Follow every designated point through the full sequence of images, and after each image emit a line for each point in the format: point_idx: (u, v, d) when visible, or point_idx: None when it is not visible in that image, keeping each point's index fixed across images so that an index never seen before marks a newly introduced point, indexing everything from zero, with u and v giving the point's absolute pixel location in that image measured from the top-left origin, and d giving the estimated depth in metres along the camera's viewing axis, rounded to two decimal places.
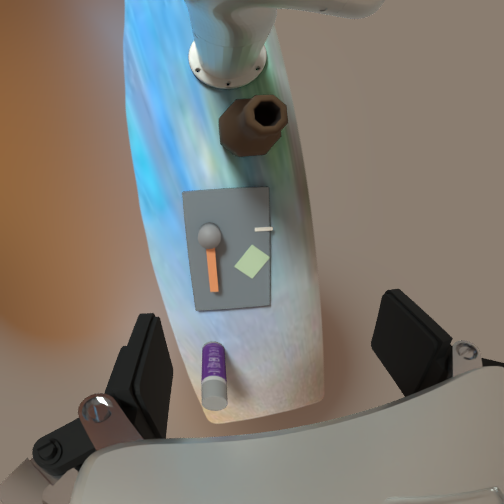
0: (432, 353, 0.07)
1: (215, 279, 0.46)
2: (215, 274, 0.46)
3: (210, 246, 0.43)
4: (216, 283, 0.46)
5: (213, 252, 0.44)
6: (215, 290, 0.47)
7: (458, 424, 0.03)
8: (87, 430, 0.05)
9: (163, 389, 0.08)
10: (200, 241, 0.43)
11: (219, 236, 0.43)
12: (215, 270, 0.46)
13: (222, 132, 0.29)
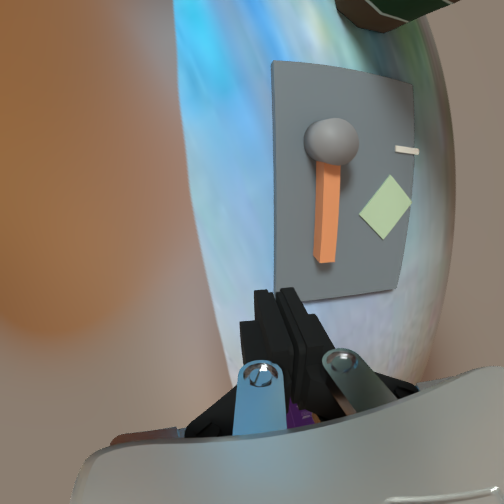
0: (301, 358, 0.08)
1: (333, 236, 0.22)
2: (335, 225, 0.22)
3: (338, 160, 0.19)
4: (333, 244, 0.22)
5: (337, 177, 0.20)
6: (329, 259, 0.23)
7: (457, 424, 0.03)
8: (238, 388, 0.06)
9: None
10: (319, 147, 0.18)
11: (356, 141, 0.18)
12: (336, 216, 0.21)
13: None
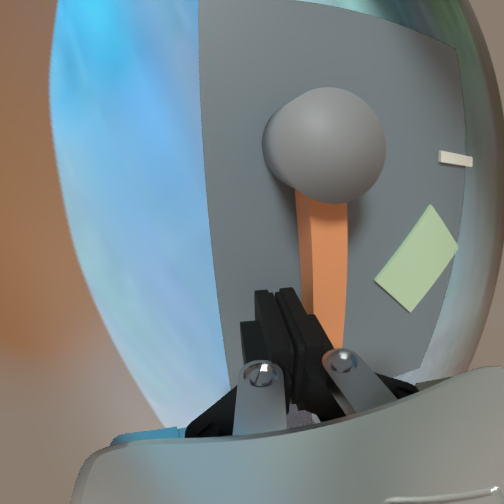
0: (301, 358, 0.08)
1: (336, 333, 0.11)
2: (339, 315, 0.11)
3: (342, 190, 0.08)
4: (337, 345, 0.11)
5: (341, 224, 0.09)
6: None
7: (458, 424, 0.03)
8: (239, 388, 0.06)
9: None
10: (292, 166, 0.07)
11: (380, 139, 0.07)
12: (341, 300, 0.11)
13: None
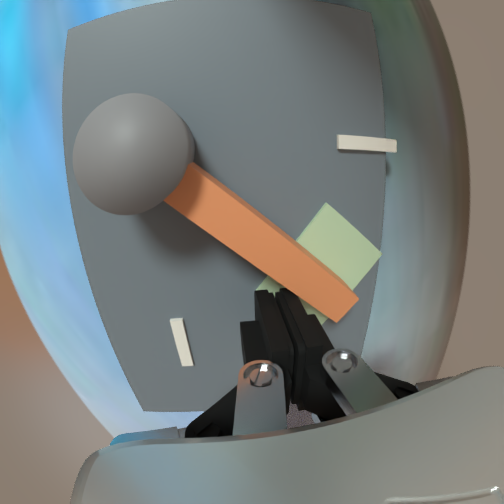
0: (301, 358, 0.08)
1: (318, 275, 0.10)
2: (302, 260, 0.10)
3: (163, 178, 0.07)
4: (332, 283, 0.10)
5: (211, 192, 0.08)
6: (348, 305, 0.11)
7: (458, 424, 0.03)
8: (239, 388, 0.06)
9: None
10: (113, 204, 0.07)
11: (154, 104, 0.06)
12: (288, 247, 0.09)
13: None
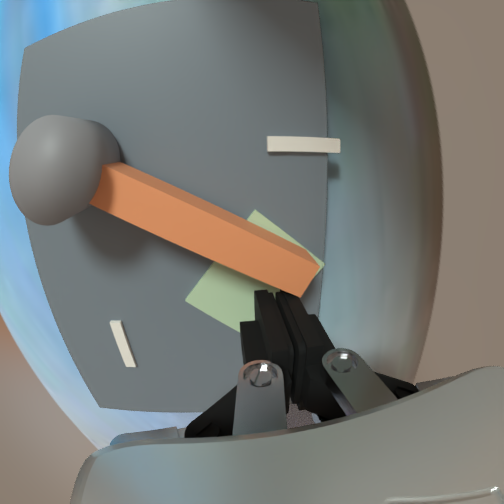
0: (301, 358, 0.08)
1: (260, 248, 0.09)
2: (236, 234, 0.09)
3: (76, 183, 0.07)
4: (281, 254, 0.09)
5: (127, 184, 0.08)
6: (308, 275, 0.10)
7: (458, 424, 0.03)
8: (238, 388, 0.06)
9: None
10: (45, 217, 0.07)
11: (57, 121, 0.06)
12: (217, 223, 0.09)
13: None
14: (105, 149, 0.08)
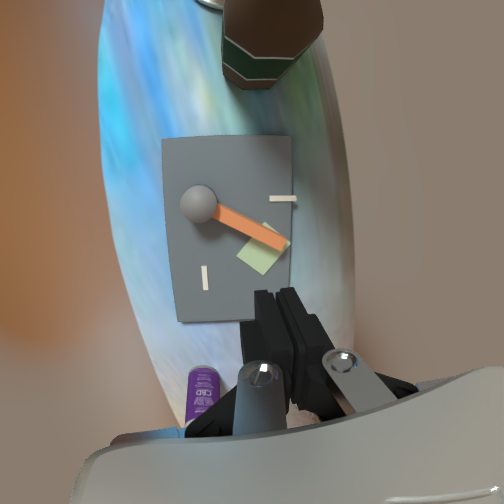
0: (301, 358, 0.08)
1: (267, 233, 0.29)
2: (259, 228, 0.29)
3: (211, 210, 0.26)
4: (273, 235, 0.29)
5: (225, 211, 0.28)
6: (283, 243, 0.29)
7: (458, 424, 0.03)
8: (238, 388, 0.06)
9: None
10: (196, 220, 0.27)
11: (204, 189, 0.26)
12: (253, 225, 0.28)
13: (228, 12, 0.13)
14: (216, 198, 0.27)
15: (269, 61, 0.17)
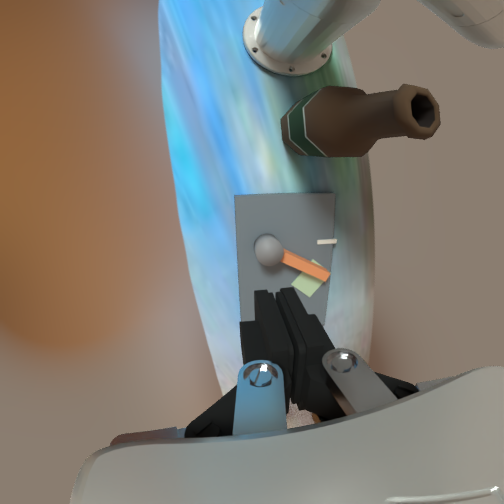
0: (301, 358, 0.08)
1: (316, 269, 0.38)
2: (311, 266, 0.38)
3: (279, 256, 0.36)
4: (321, 270, 0.38)
5: (288, 255, 0.37)
6: (327, 275, 0.39)
7: (457, 424, 0.03)
8: (238, 388, 0.06)
9: None
10: (268, 264, 0.36)
11: (275, 242, 0.35)
12: (307, 264, 0.38)
13: (315, 124, 0.22)
14: None
15: None
